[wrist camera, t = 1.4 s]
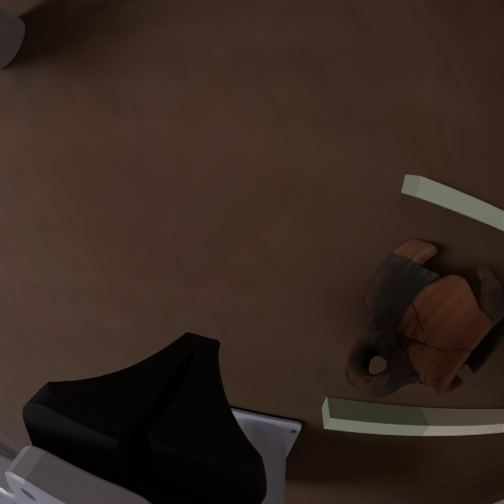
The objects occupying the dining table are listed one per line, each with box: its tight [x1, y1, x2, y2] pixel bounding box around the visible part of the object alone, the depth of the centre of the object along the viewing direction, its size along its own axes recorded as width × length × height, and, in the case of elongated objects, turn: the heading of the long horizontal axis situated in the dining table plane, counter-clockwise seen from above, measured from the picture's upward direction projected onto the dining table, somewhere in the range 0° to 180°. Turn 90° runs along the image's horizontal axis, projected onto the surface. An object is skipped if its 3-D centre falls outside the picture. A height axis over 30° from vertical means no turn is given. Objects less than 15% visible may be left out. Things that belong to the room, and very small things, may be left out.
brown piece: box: [345, 238, 504, 398], centre depth 18 cm, size 12×10×8 cm
